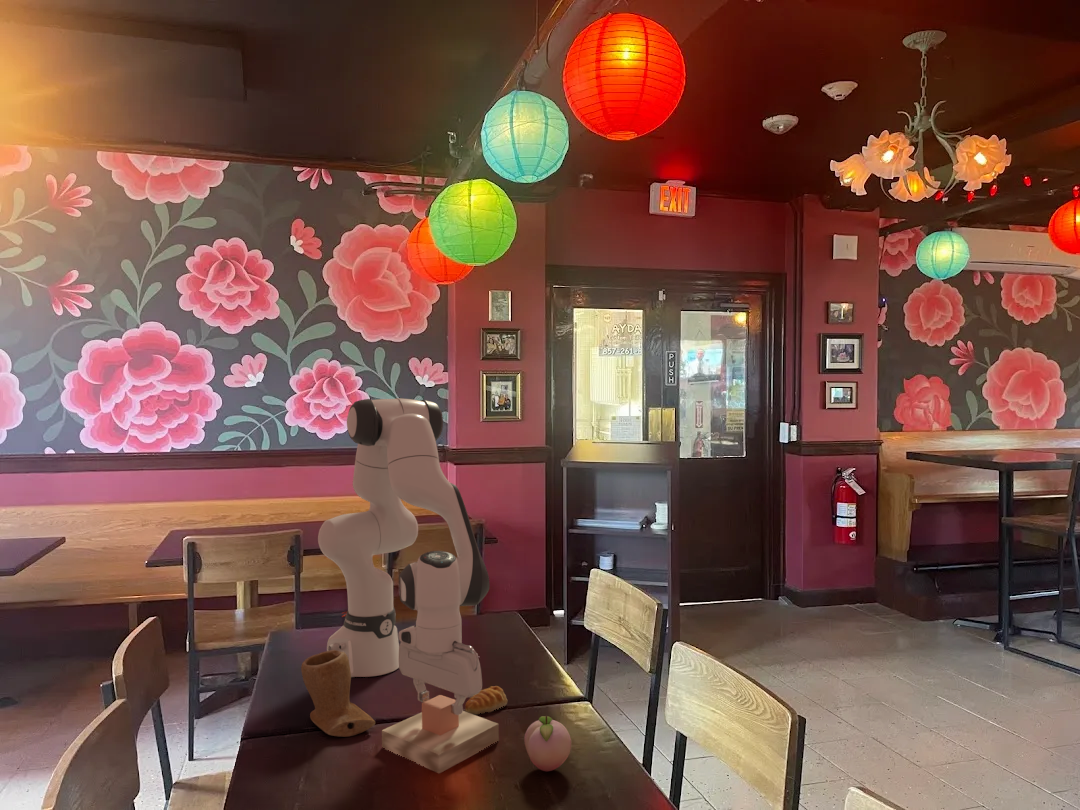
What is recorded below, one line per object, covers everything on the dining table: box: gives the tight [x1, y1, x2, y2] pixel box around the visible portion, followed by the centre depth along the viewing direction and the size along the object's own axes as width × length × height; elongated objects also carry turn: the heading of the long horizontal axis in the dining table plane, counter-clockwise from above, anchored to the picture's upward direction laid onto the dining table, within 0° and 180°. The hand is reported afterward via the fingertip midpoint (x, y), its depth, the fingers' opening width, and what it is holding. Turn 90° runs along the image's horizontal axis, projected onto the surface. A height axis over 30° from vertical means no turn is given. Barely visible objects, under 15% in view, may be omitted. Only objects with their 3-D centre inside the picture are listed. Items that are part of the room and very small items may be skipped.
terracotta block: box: [421, 694, 459, 735], centre depth 150 cm, size 5×5×5 cm
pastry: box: [464, 685, 508, 715], centre depth 167 cm, size 9×7×4 cm
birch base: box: [381, 710, 500, 774], centre depth 150 cm, size 16×16×4 cm
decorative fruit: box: [524, 715, 572, 772], centre depth 139 cm, size 9×8×10 cm
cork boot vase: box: [300, 650, 376, 738], centre depth 158 cm, size 15×12×15 cm
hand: (439, 706), depth 150 cm, fingers open, 8 cm apart
